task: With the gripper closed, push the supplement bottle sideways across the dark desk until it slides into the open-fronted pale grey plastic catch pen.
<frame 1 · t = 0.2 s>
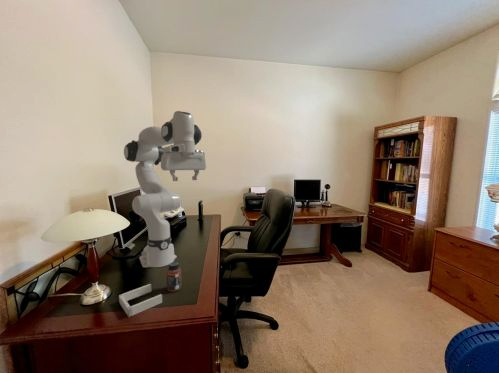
hand: (185, 180, 97), 47 cm above the table, fingers open, 8 cm apart
supplement bottle: (174, 289, 96), on the table
catch pen: (140, 302, 86), on the table
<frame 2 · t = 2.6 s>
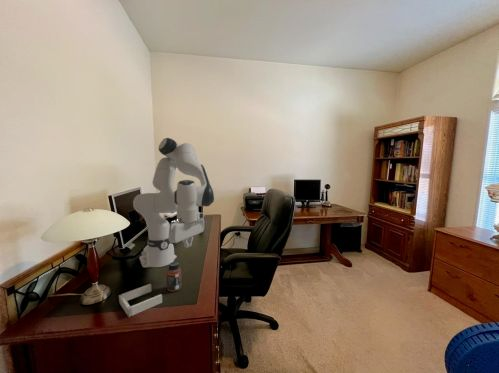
hand: (188, 246, 99), 17 cm above the table, fingers closed
nothing on the table moved.
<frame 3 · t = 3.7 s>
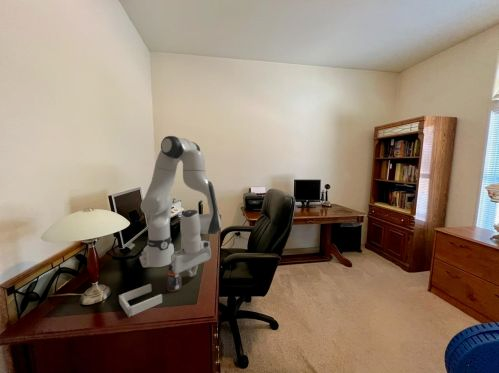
hand: (192, 275, 101), 3 cm above the table, fingers closed
nothing on the table moved.
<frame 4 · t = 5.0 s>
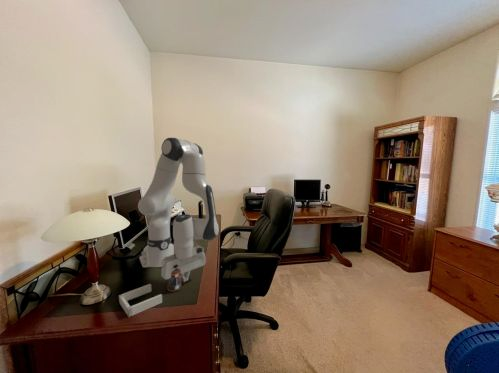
hand: (185, 280, 99), 2 cm above the table, fingers closed
supplement bottle: (174, 289, 96), on the table, touching gripper
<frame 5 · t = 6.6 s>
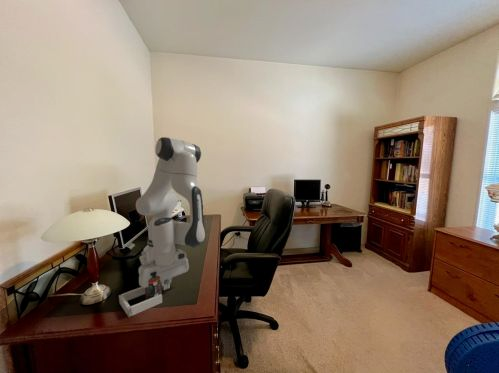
hand: (165, 288, 93), 2 cm above the table, fingers closed
supplement bottle: (154, 297, 89), on the table, touching gripper
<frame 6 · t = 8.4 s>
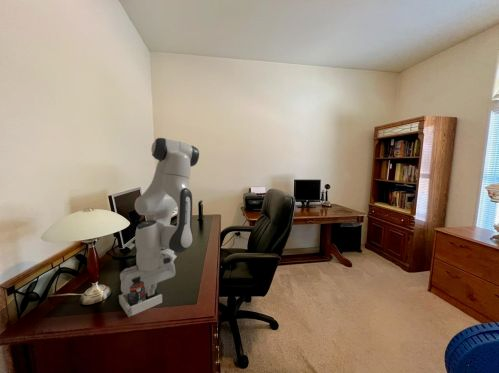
hand: (150, 294, 88), 2 cm above the table, fingers closed
supplement bottle: (137, 304, 85), on the table, touching gripper
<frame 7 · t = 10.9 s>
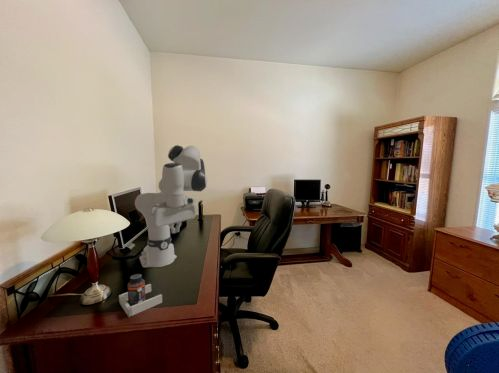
hand: (175, 232, 95), 25 cm above the table, fingers closed
supplement bottle: (137, 304, 85), on the table
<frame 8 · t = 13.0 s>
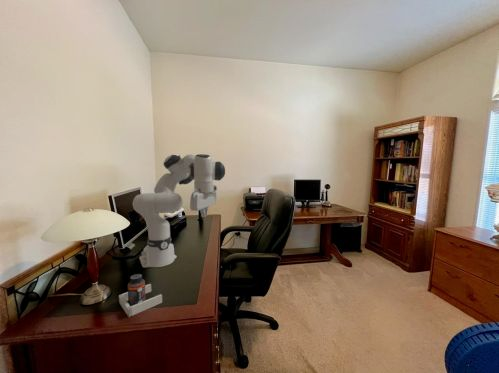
hand: (204, 216, 106), 29 cm above the table, fingers closed
nothing on the table moved.
at the end: supplement bottle inside the target area on the catch pen (0.9 cm from its centre), point 0.0 cm above the catch pen's base; supplement bottle moved 15.3 cm from its start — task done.
